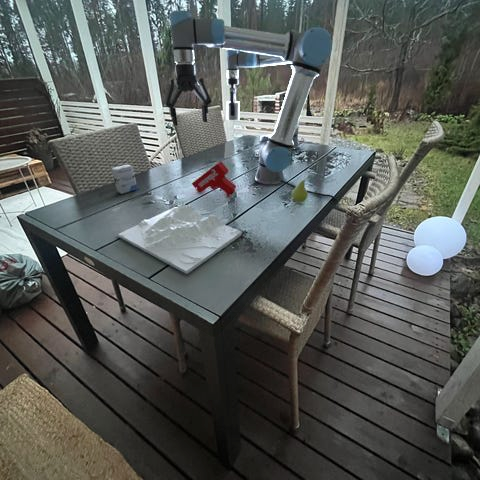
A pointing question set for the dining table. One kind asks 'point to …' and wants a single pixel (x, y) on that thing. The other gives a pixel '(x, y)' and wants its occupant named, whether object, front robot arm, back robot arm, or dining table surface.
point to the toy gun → (215, 180)
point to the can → (237, 111)
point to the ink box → (124, 178)
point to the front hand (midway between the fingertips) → (190, 123)
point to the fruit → (300, 192)
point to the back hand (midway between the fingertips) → (233, 114)
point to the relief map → (181, 237)
